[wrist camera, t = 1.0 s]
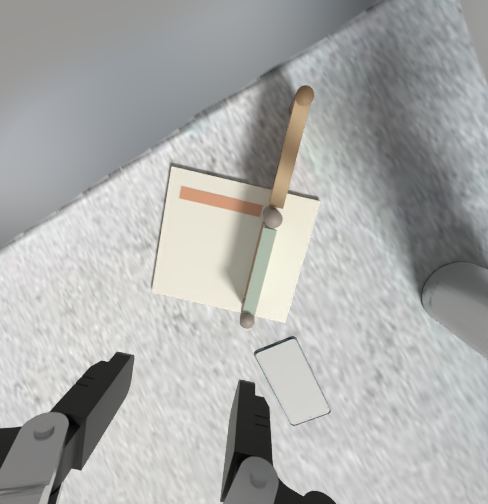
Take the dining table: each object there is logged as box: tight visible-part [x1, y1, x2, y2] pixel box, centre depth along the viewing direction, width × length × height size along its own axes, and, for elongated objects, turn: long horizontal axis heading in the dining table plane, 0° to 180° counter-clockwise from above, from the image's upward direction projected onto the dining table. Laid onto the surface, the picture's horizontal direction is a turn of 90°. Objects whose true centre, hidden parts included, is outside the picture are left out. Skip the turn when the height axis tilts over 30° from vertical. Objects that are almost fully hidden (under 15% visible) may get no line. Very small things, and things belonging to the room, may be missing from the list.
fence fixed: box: [240, 206, 283, 329], centre depth 36 cm, size 2×15×7 cm, turn 167°
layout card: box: [152, 166, 321, 323], centre depth 39 cm, size 20×18×1 cm
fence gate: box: [269, 85, 314, 209], centre depth 32 cm, size 12×2×6 cm, turn 167°
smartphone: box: [255, 337, 331, 426], centre depth 44 cm, size 7×1×15 cm
